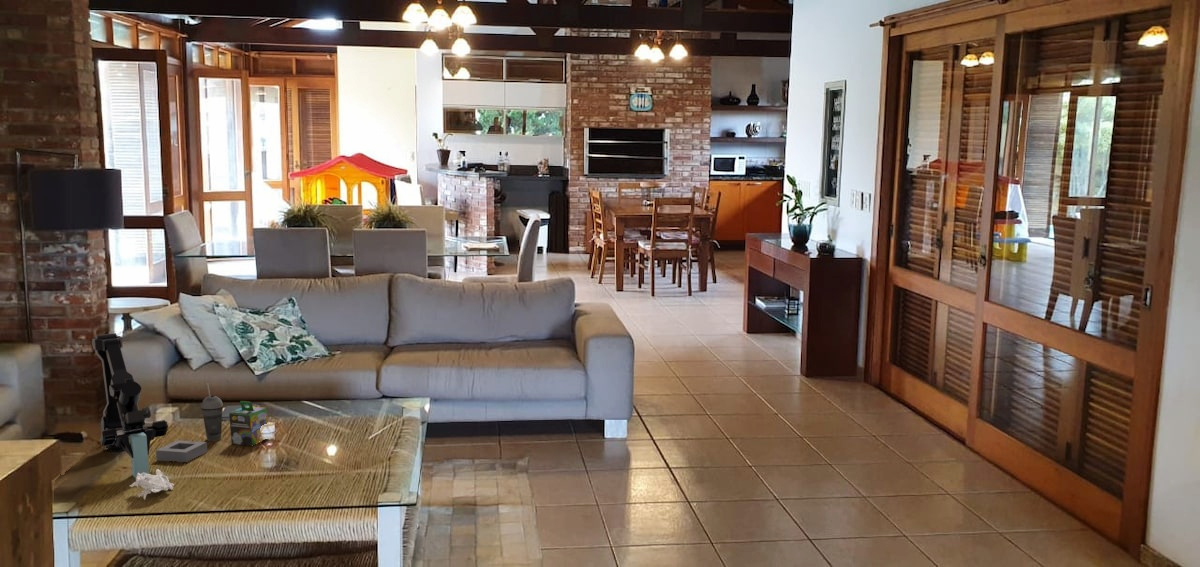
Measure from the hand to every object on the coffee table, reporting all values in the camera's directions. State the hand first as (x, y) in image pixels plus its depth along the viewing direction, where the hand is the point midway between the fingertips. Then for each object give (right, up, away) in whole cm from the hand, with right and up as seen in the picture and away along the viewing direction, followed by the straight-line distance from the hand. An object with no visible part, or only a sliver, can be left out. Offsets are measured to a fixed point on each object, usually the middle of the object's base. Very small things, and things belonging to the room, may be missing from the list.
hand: (140, 456), depth 292 cm
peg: (-1, -6, +2) cm, 7 cm away
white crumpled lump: (+11, -9, -14) cm, 20 cm away
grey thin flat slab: (+3, +2, +72) cm, 72 cm away
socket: (+4, -4, +20) cm, 21 cm away
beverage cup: (+7, -1, +39) cm, 39 cm away
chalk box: (+21, -2, +36) cm, 42 cm away
